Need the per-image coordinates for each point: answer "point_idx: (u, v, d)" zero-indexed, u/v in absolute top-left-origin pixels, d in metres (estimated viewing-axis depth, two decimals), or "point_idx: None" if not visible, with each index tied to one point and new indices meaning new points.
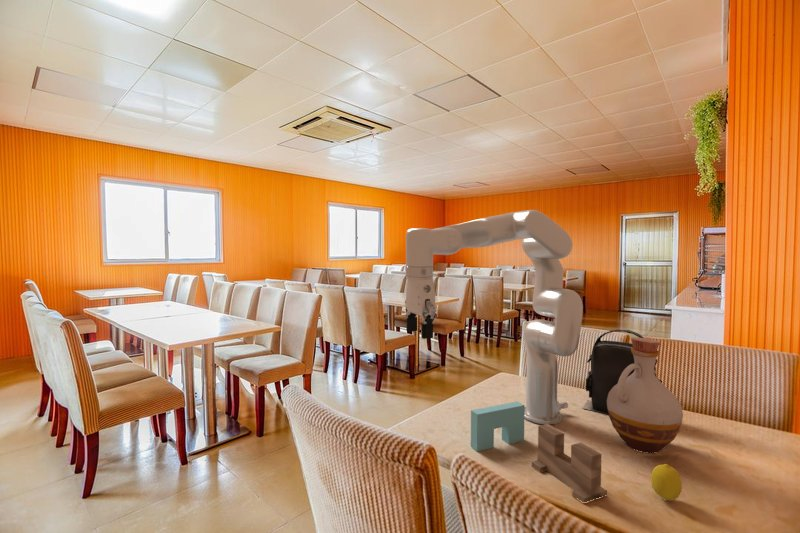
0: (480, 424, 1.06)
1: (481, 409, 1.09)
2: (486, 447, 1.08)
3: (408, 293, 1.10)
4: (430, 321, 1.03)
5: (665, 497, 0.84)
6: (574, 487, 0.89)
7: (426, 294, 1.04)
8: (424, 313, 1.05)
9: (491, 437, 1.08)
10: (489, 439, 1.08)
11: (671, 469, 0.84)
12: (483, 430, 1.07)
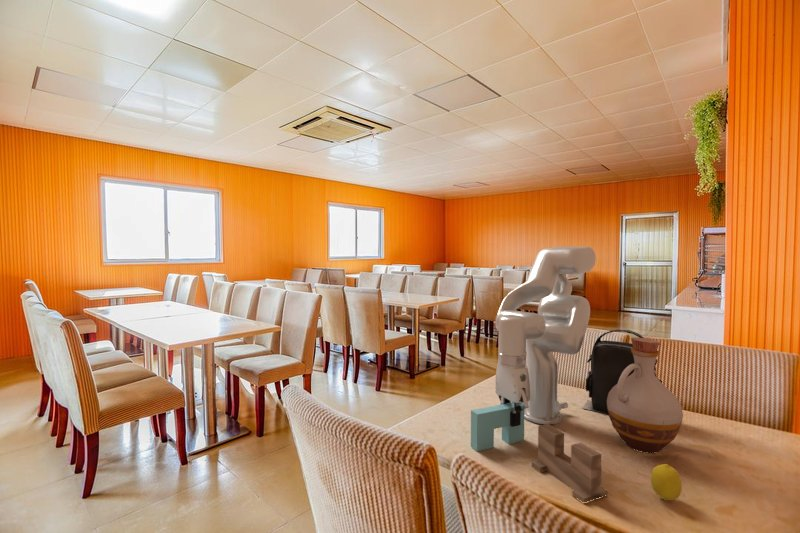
0: (480, 424, 1.06)
1: (481, 409, 1.09)
2: (486, 447, 1.07)
3: (500, 378, 1.13)
4: (519, 411, 1.09)
5: (665, 497, 0.84)
6: (574, 487, 0.89)
7: (522, 383, 1.07)
8: (516, 403, 1.09)
9: (491, 437, 1.08)
10: (489, 439, 1.08)
11: (671, 469, 0.84)
12: (483, 430, 1.07)
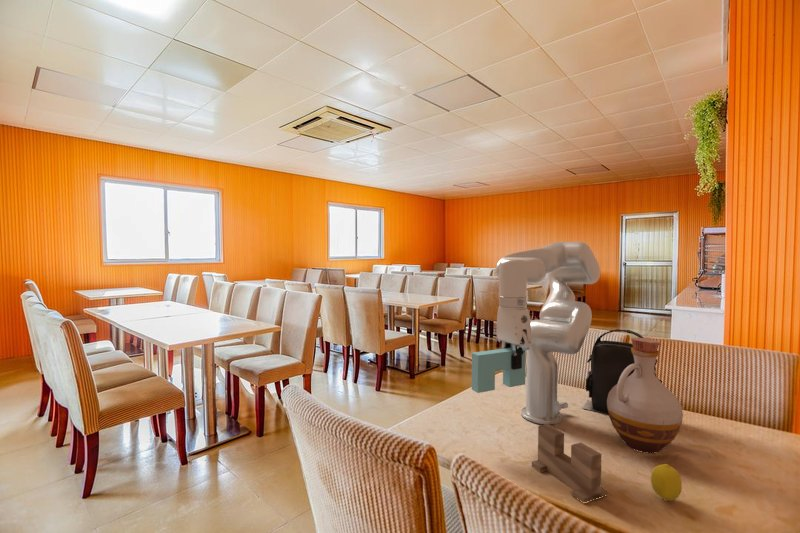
0: (481, 365, 1.06)
1: (482, 352, 1.08)
2: (487, 389, 1.07)
3: (501, 322, 1.12)
4: (520, 353, 1.08)
5: (665, 497, 0.84)
6: (574, 487, 0.89)
7: (523, 324, 1.07)
8: (517, 345, 1.09)
9: (493, 379, 1.08)
10: (490, 381, 1.07)
11: (671, 469, 0.84)
12: (484, 372, 1.06)
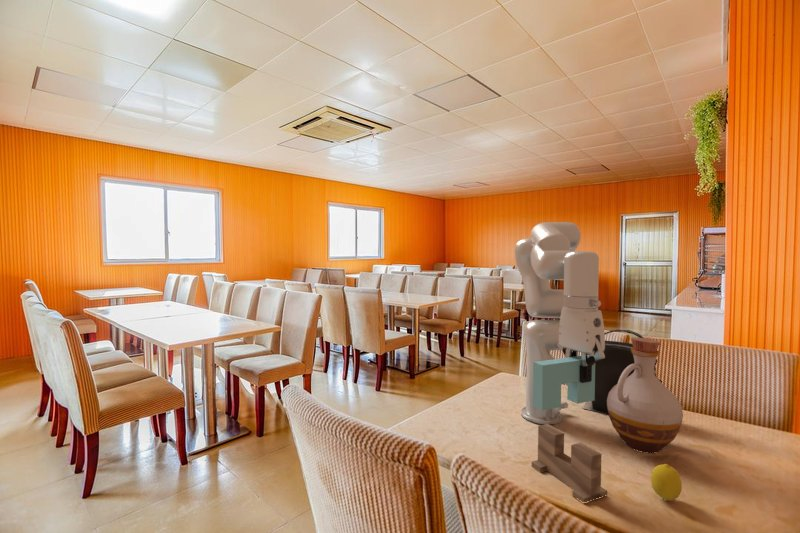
0: (546, 377, 0.89)
1: (545, 361, 0.91)
2: (552, 406, 0.90)
3: (565, 326, 0.95)
4: (592, 363, 0.91)
5: (665, 497, 0.84)
6: (574, 487, 0.89)
7: (596, 329, 0.89)
8: (587, 354, 0.91)
9: (558, 394, 0.90)
10: (556, 396, 0.90)
11: (671, 469, 0.84)
12: (549, 385, 0.89)
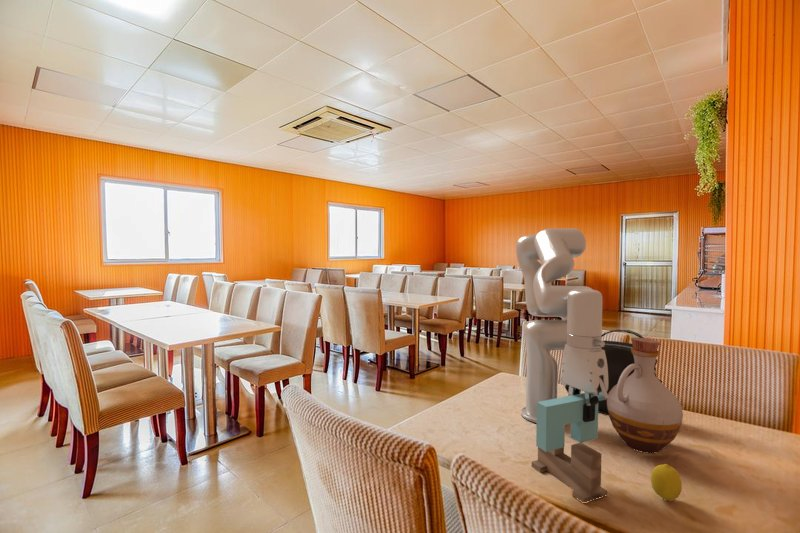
0: (549, 419, 0.88)
1: (549, 401, 0.91)
2: (556, 447, 0.89)
3: (569, 364, 0.95)
4: (595, 403, 0.91)
5: (665, 497, 0.84)
6: (574, 487, 0.89)
7: (600, 369, 0.89)
8: (590, 393, 0.91)
9: (562, 435, 0.90)
10: (560, 436, 0.89)
11: (671, 469, 0.84)
12: (553, 426, 0.89)
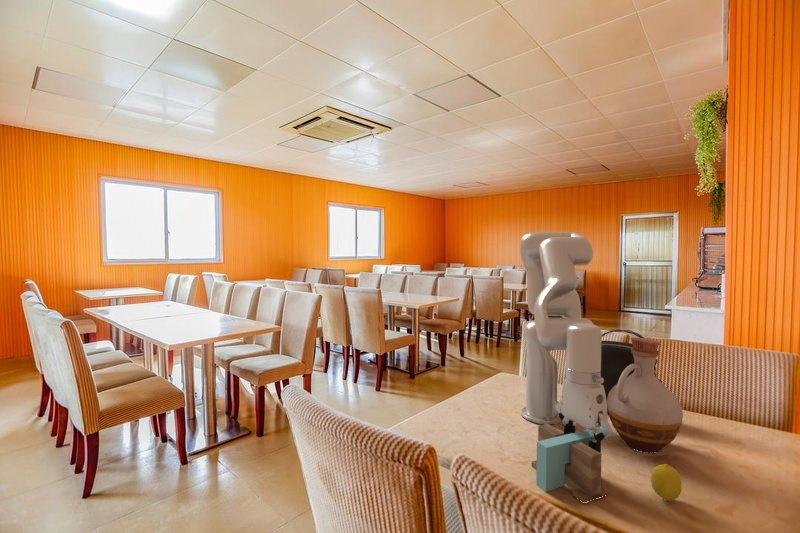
0: (549, 459, 0.89)
1: (548, 441, 0.91)
2: (556, 486, 0.90)
3: (568, 398, 0.95)
4: (601, 439, 0.89)
5: (665, 497, 0.84)
6: (574, 487, 0.89)
7: (599, 405, 0.89)
8: None
9: (562, 474, 0.90)
10: (560, 476, 0.90)
11: (671, 469, 0.84)
12: (553, 466, 0.89)
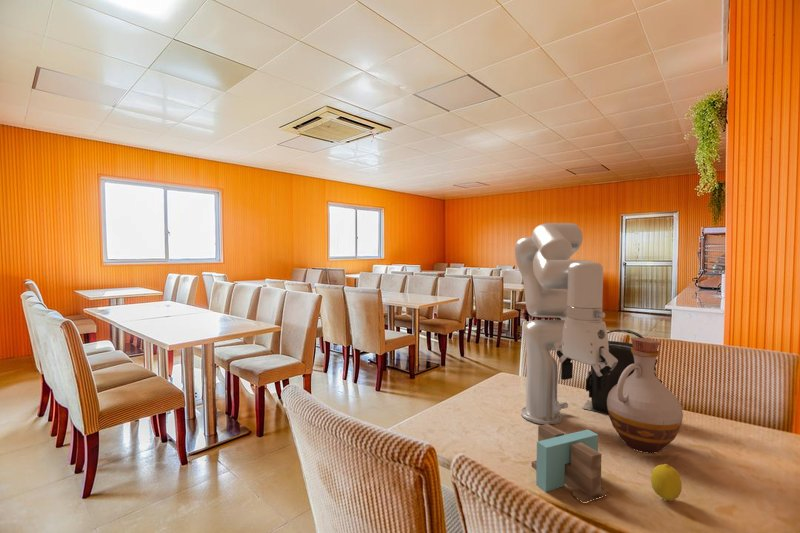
0: (549, 459, 0.89)
1: (548, 441, 0.91)
2: (556, 486, 0.90)
3: (569, 337, 0.94)
4: (607, 373, 0.88)
5: (665, 497, 0.84)
6: (574, 487, 0.89)
7: (600, 341, 0.89)
8: (597, 363, 0.89)
9: (562, 474, 0.90)
10: (560, 476, 0.90)
11: (671, 469, 0.84)
12: (553, 466, 0.89)
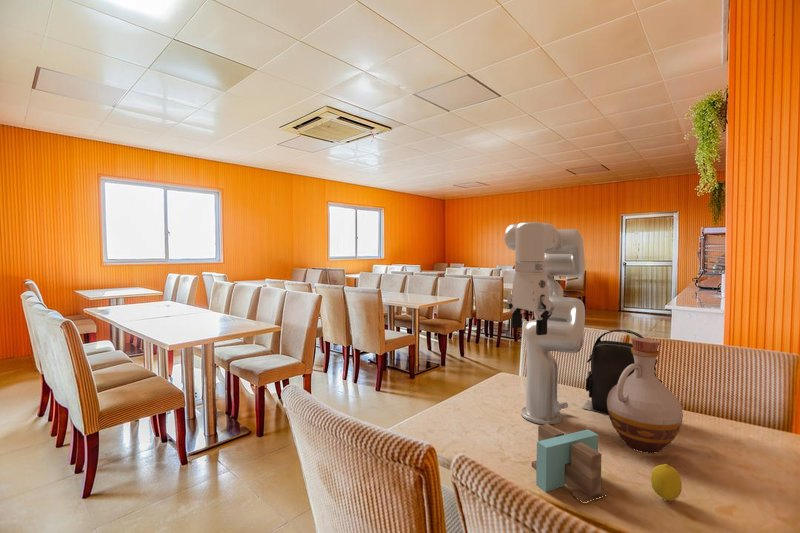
0: (549, 459, 0.89)
1: (548, 441, 0.91)
2: (556, 486, 0.90)
3: (517, 289, 1.08)
4: (546, 317, 1.01)
5: (665, 497, 0.84)
6: (574, 487, 0.89)
7: (541, 289, 1.02)
8: (539, 309, 1.02)
9: (562, 474, 0.90)
10: (560, 476, 0.90)
11: (671, 469, 0.84)
12: (553, 466, 0.89)
